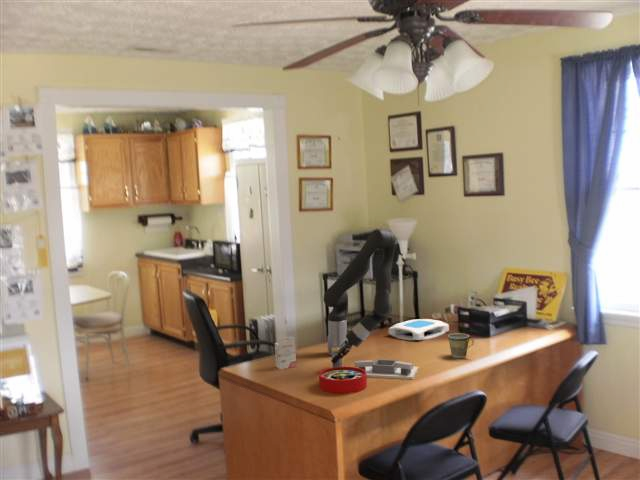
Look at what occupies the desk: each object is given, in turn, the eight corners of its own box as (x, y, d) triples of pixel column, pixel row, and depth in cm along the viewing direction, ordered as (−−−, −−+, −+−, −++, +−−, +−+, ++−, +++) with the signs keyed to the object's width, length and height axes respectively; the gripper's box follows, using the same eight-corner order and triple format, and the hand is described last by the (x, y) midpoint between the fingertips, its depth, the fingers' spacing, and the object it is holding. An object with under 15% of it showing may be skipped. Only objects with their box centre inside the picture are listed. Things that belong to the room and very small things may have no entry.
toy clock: (317, 368, 286) (363, 365, 287) (317, 381, 287) (363, 378, 288) (320, 381, 266) (369, 378, 267) (320, 395, 267) (369, 393, 268)
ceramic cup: (444, 356, 317) (443, 336, 316) (455, 352, 324) (455, 332, 323) (468, 361, 308) (467, 340, 307) (479, 356, 315) (478, 335, 314)
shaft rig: (351, 376, 291) (351, 363, 291) (360, 366, 306) (359, 354, 306) (412, 379, 283) (412, 366, 283) (418, 368, 298) (418, 356, 298)
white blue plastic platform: (449, 333, 367) (449, 321, 366) (418, 342, 348) (418, 331, 347) (419, 327, 382) (419, 317, 382) (387, 336, 363) (387, 325, 362)
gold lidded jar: (331, 370, 301) (330, 349, 300) (334, 368, 305) (333, 346, 304) (340, 371, 300) (339, 349, 299) (343, 368, 304) (342, 347, 303)
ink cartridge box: (292, 364, 314) (290, 333, 313) (296, 366, 310) (295, 335, 308) (275, 367, 310) (274, 336, 309) (279, 369, 306) (278, 338, 304)
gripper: (352, 325, 307) (327, 351, 309) (352, 332, 293) (326, 359, 295) (363, 336, 308) (338, 362, 309) (364, 343, 294) (338, 370, 295)
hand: (332, 360), depth 302 cm, fingers closed on gold lidded jar, 4 cm apart
